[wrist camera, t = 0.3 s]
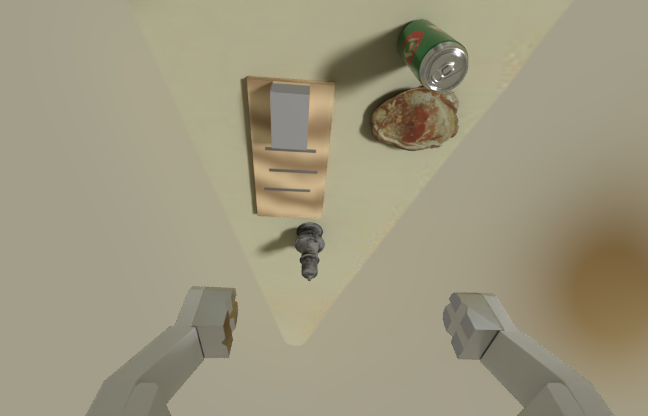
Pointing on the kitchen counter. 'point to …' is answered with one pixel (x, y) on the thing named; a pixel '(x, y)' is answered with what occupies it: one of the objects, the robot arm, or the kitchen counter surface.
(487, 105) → the kitchen counter surface
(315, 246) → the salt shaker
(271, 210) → the board
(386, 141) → the oyster shell
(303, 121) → the block
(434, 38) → the soda can
